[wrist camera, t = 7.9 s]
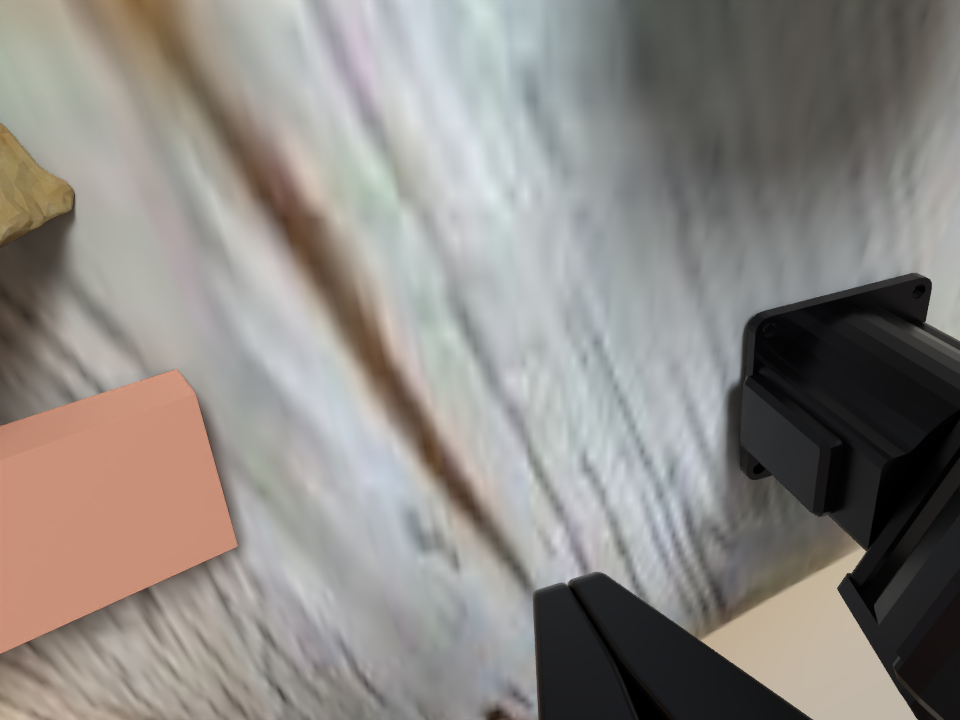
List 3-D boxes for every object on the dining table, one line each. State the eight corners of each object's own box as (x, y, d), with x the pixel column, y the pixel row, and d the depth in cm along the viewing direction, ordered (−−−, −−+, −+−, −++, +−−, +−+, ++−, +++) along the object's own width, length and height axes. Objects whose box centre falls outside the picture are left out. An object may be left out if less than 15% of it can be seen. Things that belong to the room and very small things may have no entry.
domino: (195, 393, 19) (-348, 579, 14) (238, 546, 21) (-213, 750, 16) (176, 368, 20) (-332, 532, 15) (219, 516, 22) (-207, 698, 18)
